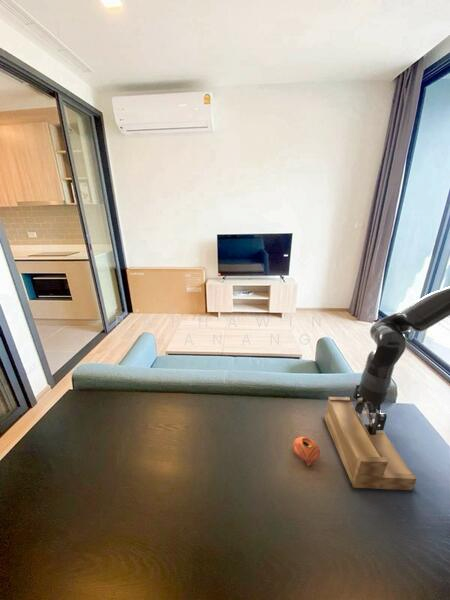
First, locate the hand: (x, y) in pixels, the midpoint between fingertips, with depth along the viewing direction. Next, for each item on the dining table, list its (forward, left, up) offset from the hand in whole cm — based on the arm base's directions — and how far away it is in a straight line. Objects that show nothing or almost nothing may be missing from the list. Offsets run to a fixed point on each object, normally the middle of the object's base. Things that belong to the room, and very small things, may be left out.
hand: (364, 422), depth 81 cm
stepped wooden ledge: (+3, +5, -6) cm, 8 cm away
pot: (+21, +8, -6) cm, 23 cm away
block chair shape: (-1, 0, -2) cm, 2 cm away
